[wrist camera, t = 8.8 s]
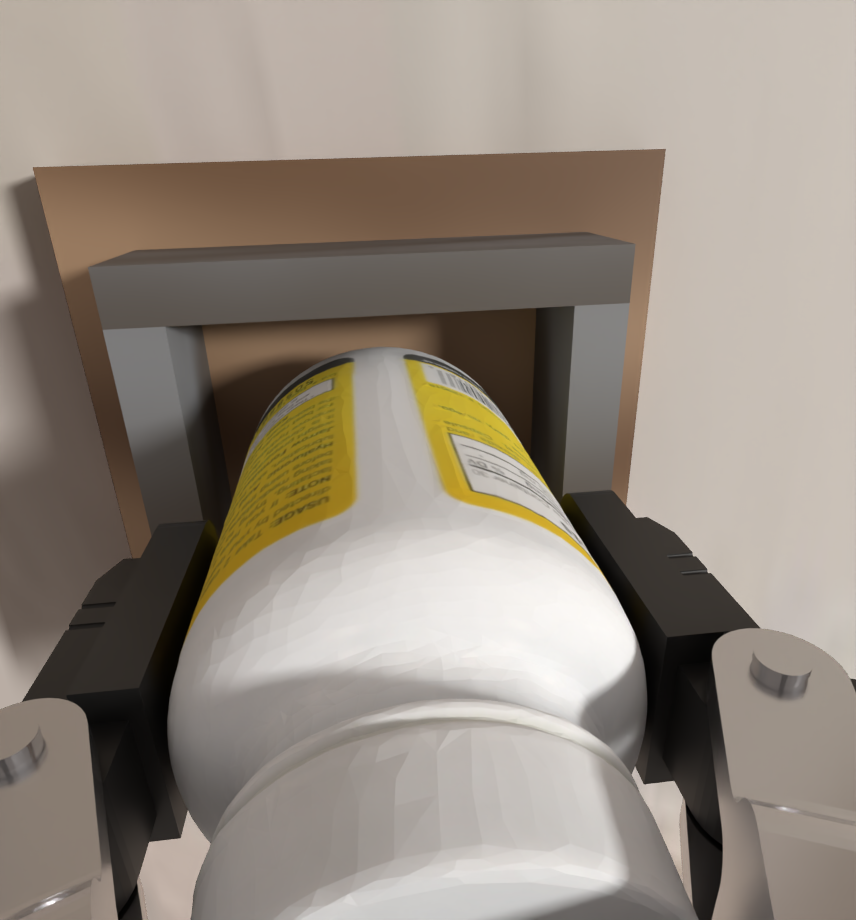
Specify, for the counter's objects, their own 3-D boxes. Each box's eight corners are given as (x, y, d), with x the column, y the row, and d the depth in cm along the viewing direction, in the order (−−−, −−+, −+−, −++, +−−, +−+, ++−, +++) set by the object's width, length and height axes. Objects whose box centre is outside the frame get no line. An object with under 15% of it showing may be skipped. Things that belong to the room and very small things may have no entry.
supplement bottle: (262, 583, 14) (117, 1262, 5) (239, 341, 12) (-72, 820, 3) (501, 572, 15) (726, 1168, 6) (521, 340, 13) (922, 741, 4)
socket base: (55, 168, 13) (-43, 166, 9) (644, 150, 14) (733, 143, 11) (172, 651, 18) (132, 756, 14) (599, 610, 19) (650, 700, 15)
